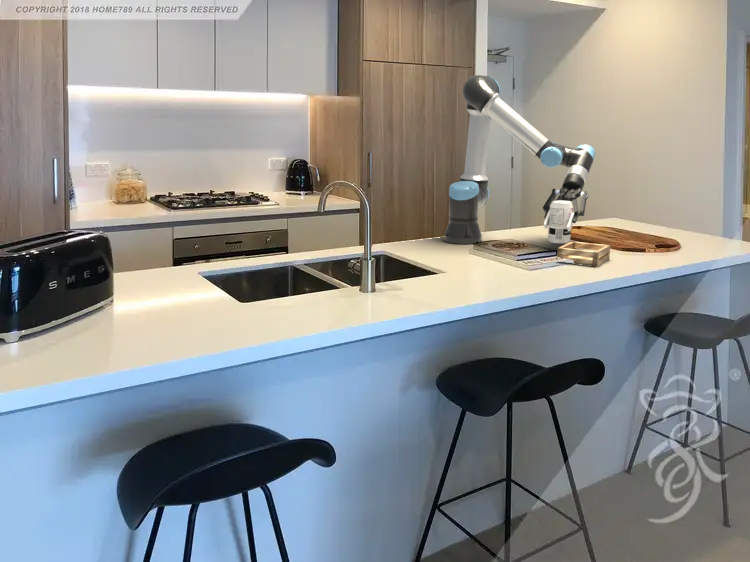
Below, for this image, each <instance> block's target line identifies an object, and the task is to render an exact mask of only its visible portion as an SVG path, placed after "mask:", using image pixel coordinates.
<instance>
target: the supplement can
mask: <svg viewBox="0 0 750 562" xmlns="http://www.w3.org/2000/svg"><path fill="white" fill-rule="evenodd" d="M572 213H574V206H573V201H562V200H557V201H555V200H554V201H552V203H551V205H550V214H549V225H548V228H547V229H548V230H547V231H548V232H547V240H548V241H549V242H550V243H554V244H567V243H569V242H571V237H572V236H571V235H572V229H571V230H570V231H568V229H567V225H568V222H569V219H570V217H571V214H572Z"/></svg>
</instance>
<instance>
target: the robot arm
mask: <svg viewBox="0 0 750 562" xmlns="http://www.w3.org/2000/svg"><path fill="white" fill-rule="evenodd" d="M500 94H501V89H500V85H499V82H497V80H496V79H494V78H493V77H491V76H490V75H480V74H477V75H473V76H470V77H469V78H468V79H467V80H466V81H465V82H464V84H463V87H462V95H463V98H464V100H465V102H466V103H467V104H466V110H467V112H468V114H469V123H468V129H467V131H468V133H467V140H466V141H467V142H466V143H467V144H466V153H465V163H464V173H463V174H461V176H460V177H459V181H456V182H453V183H452V184H450V185H449V190H448V197H449V200H448V203H449V204H448V224H447V227H446V230H445V232H444V240H443V241H444V242H445V243H449V244H457V245H470V244H471V245H472V244H473V243H474V244H477V243H476V242H479V243H481V242H483V234H482V231H481V228H480V224H479V209H481V208H483V207H484V206H485V205H486V204H487V202H488V200H489V197H490V191H489V187H488V186H489V178H488V177H487V175H486V170H487V160H488V149H489V141H490V139H489V138H490V130H491V122H492V121H491V120H493V121H494V123H496V124H498V125H499V126H500V127H501V128H502V129H504V130H505V131H506V132H507V133H508V134H509V135H511V136H512V137H513V138H514V139H515V140H516V141H517V142H519V143H520V144H521V145H522V146H524V147H525V148H526V149H527V150H528V151H529V152H530V153H532V154H533V155H534V156H535V157H536V158H537V159H538V160H540V162H541V164H542V165H543V166H544V167H545V168H551V169H552V168H557V167H558V166H562V167H566V168H568V170H567V172H566V175H565V178H564V180H563V183H562V186H561V187H560V188H559V189H556V188H552V190H551V194H550V195H549V197H548V198H547V200H545V201H546V202H545V203H544V205H543V206H542V209H543V210H542V211H543V212H544V213H545V214H544V222H543V226H544V229H548V228H549V214H550V205H551V203H552V201H557V200H562V201H570V202H572V205H573V213H572V214H571V217H570V219H569V222H568V225H567V229H568V231H570V230H571V231H572V227H573V226H574V224H576V223H577V221H578V218H579V217H580V216H581V217H583V216H585V211H586V206H587V200H588V198H589V193H588V191H585V190H584V191H583V189H584V186H585V183H586V181H587V177H588V176H589V172H591V171H590V170H591V168H592V166H593V163H594V159H595V156H596V151H595V148H593V146H591V145H589V144H580V145H578V146H577V148H573V147H569V146H565V145H561V144H557V143H555V142H552V141H551V140H550V139H548V138H547V137H546V136H545V135H543V134H542V132H540V131H539V130H538V129H537V128H535V127H534V126H533V125H532V124H531V123H529V121H528V120H526V119H525V118H523V117H522V116H521V115H520V114H519V113H518V112H516V111H515V110H514V109H513V108H512V107H511V106H510V105H508V104H507V103H506V102H505V101H504V100H502V99H501V98H500ZM579 197H581V199H580V207H579V208H578V202H577V201H578V200H577V199H578V198H579ZM480 241H481V242H480ZM474 244H473V245H474Z"/></svg>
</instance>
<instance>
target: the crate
mask: <svg viewBox="0 0 750 562" xmlns="http://www.w3.org/2000/svg"><path fill="white" fill-rule="evenodd" d="M556 251H557V254H556V255H557V256H556V258H557V257H560V258H566V259H570V260H573V261H574V263H575V264H574V265H576V264H582V265H581V266H584V265H591V266H590V267H592V266H598V265H599V266H601V265H602V264H604V263H606V262H608V261H609V260H610V255H611V245H609V244H602V243H601V244H599V243H589V242H580V241H572V240H571V241H569V242H568V243H564V245H561V246H559V247H557V250H556ZM600 264H601V265H600ZM599 266H598V267H599Z"/></svg>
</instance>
